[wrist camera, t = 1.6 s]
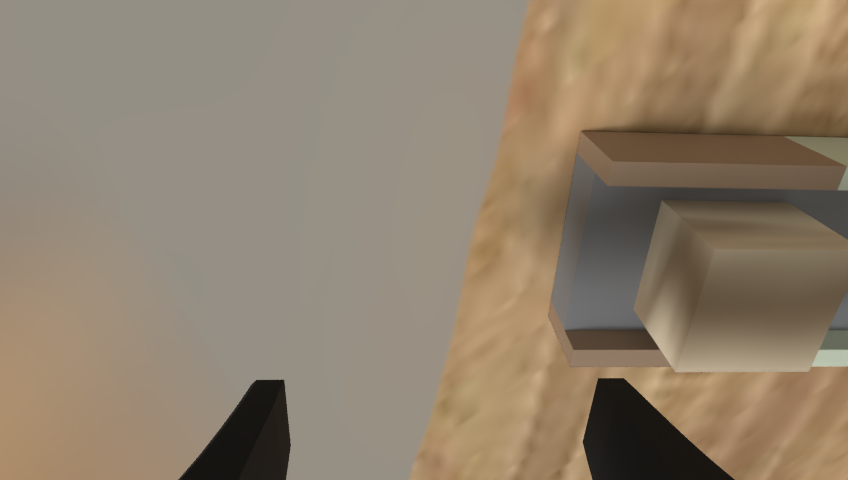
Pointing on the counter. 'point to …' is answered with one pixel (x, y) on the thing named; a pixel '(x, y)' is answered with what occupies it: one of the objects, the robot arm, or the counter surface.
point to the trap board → (637, 213)
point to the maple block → (740, 285)
